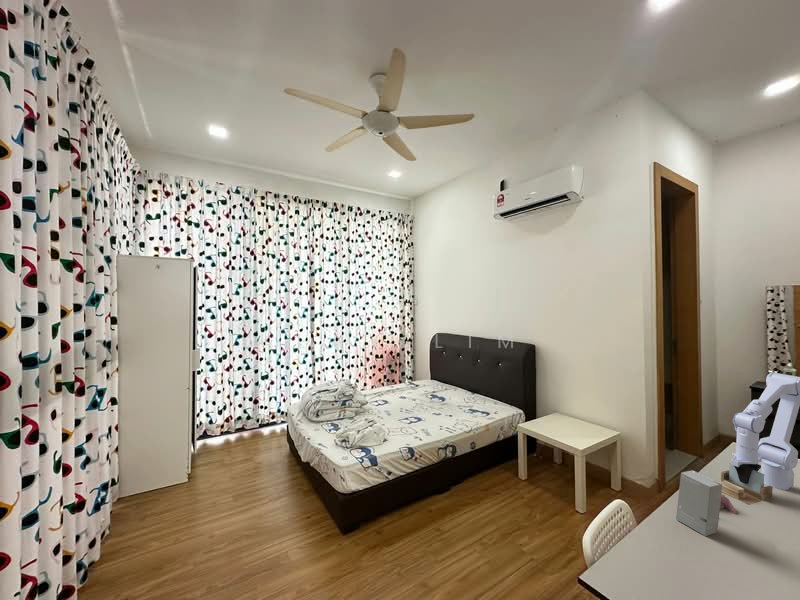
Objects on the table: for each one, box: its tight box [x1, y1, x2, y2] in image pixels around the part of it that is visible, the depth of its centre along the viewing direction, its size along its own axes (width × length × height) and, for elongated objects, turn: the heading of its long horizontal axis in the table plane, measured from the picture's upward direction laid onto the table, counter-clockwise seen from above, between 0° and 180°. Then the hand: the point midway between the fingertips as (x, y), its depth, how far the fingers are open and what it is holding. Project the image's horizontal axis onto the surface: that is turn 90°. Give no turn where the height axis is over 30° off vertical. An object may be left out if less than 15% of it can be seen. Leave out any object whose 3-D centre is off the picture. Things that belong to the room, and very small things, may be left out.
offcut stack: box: [719, 480, 745, 500], centre depth 121 cm, size 4×6×3 cm, turn 18°
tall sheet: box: [728, 462, 765, 493], centre depth 124 cm, size 2×9×8 cm, turn 18°
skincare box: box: [675, 470, 723, 537], centre depth 105 cm, size 8×7×16 cm
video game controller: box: [720, 493, 738, 515], centre depth 113 cm, size 10×5×7 cm, turn 85°
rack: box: [720, 469, 774, 505], centre depth 122 cm, size 14×12×5 cm
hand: (745, 482), depth 124 cm, fingers closed on tall sheet, 2 cm apart
